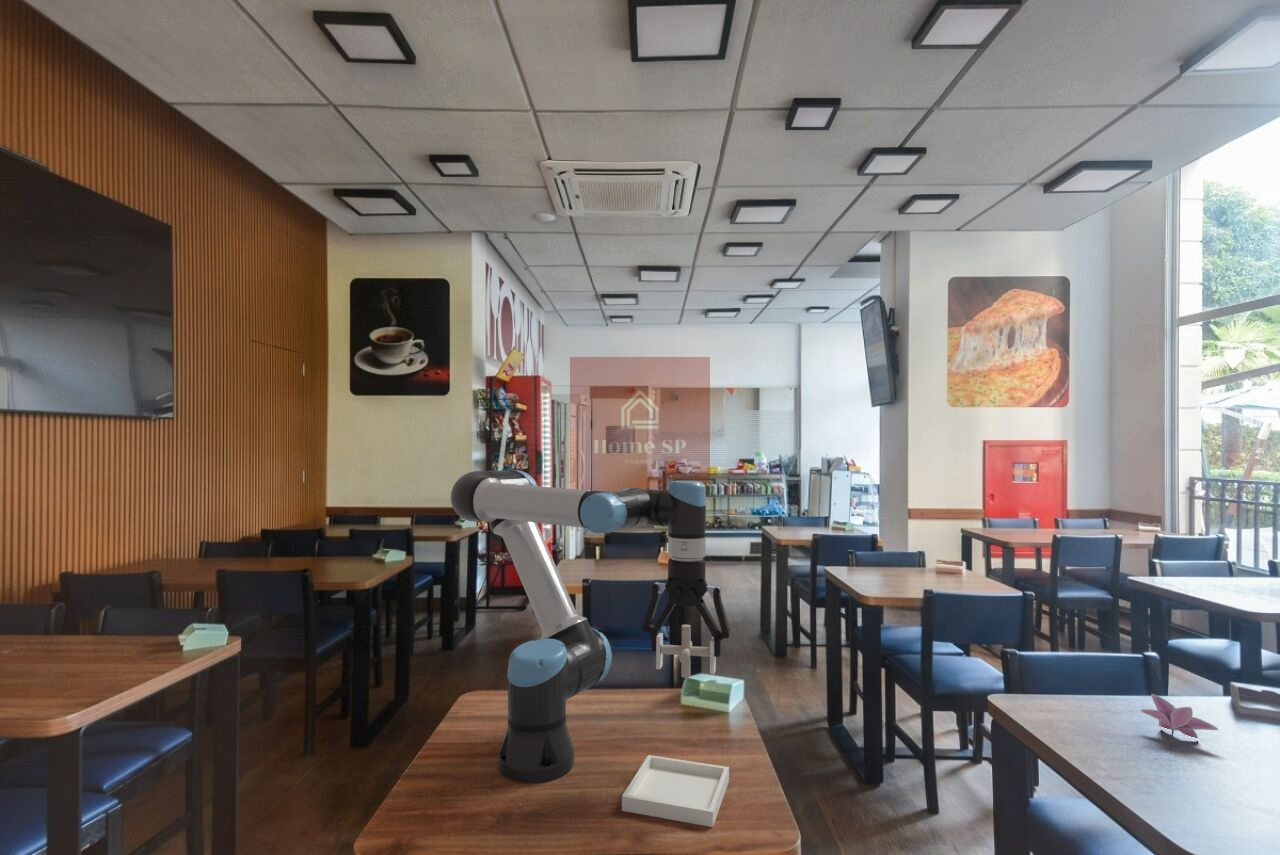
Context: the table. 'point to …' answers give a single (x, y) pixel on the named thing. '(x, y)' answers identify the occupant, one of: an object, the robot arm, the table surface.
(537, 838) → the table surface
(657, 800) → the tray
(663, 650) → the pipe connector
